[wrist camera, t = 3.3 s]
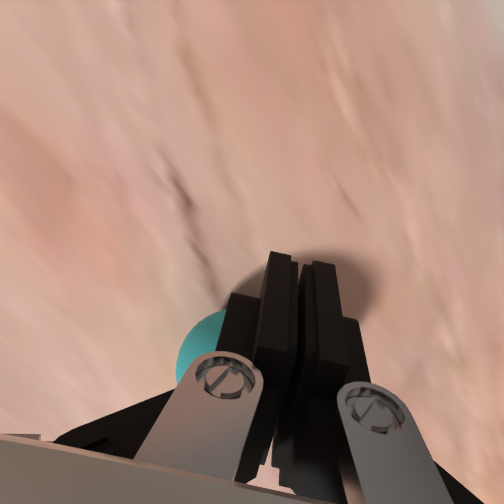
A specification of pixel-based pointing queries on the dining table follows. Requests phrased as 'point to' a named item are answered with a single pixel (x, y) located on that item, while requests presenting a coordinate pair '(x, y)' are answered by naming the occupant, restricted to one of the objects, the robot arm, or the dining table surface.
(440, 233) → the dining table surface
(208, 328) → the ball
